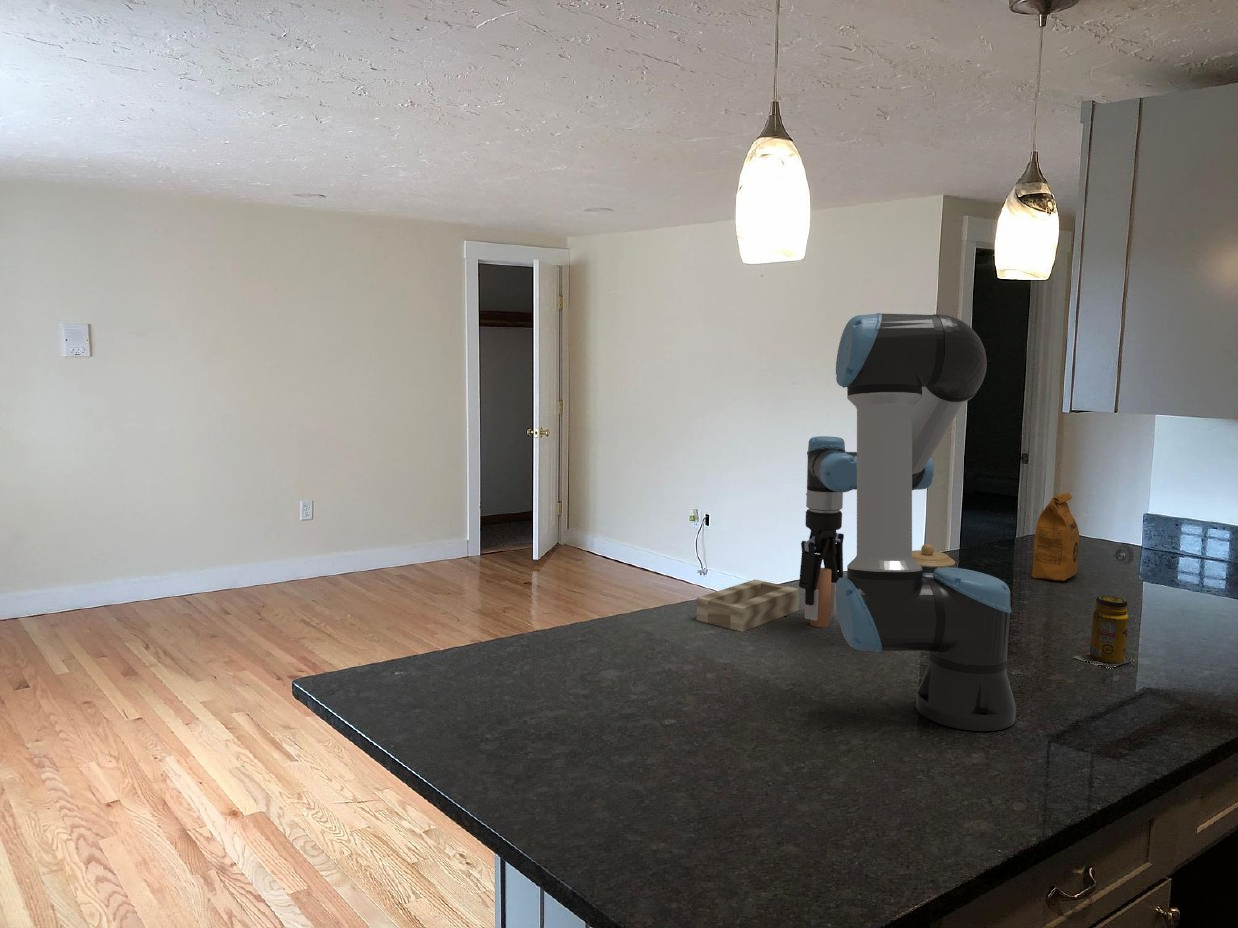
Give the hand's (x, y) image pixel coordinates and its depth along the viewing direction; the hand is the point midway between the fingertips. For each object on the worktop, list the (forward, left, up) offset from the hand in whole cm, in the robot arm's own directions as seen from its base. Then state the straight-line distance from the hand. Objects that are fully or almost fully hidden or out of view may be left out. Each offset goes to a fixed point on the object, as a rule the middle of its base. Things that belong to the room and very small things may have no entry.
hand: (820, 615), depth 195 cm
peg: (0, 0, -2) cm, 2 cm away
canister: (+16, -16, -2) cm, 23 cm away
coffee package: (+79, -23, -2) cm, 82 cm away
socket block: (-5, +15, -2) cm, 16 cm away
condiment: (+18, -51, -2) cm, 54 cm away
